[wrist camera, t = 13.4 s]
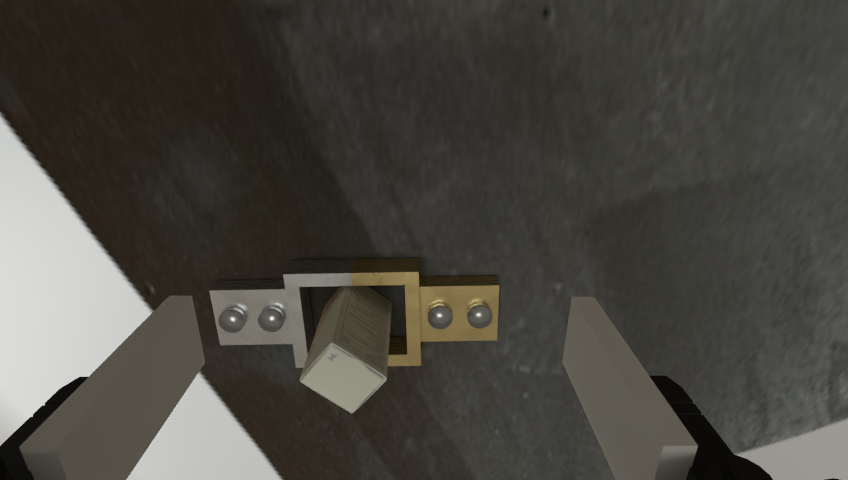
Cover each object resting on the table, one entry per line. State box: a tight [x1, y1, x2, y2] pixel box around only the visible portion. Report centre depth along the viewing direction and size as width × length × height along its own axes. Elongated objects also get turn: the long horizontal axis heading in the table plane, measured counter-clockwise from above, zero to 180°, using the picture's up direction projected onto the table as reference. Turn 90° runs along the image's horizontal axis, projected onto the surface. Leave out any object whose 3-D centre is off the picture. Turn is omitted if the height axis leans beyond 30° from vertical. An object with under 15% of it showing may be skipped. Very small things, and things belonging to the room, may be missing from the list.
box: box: [300, 286, 392, 413], centre depth 39 cm, size 5×4×11 cm
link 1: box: [209, 259, 355, 368], centre depth 43 cm, size 13×9×3 cm
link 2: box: [351, 258, 499, 366], centre depth 43 cm, size 13×9×3 cm
